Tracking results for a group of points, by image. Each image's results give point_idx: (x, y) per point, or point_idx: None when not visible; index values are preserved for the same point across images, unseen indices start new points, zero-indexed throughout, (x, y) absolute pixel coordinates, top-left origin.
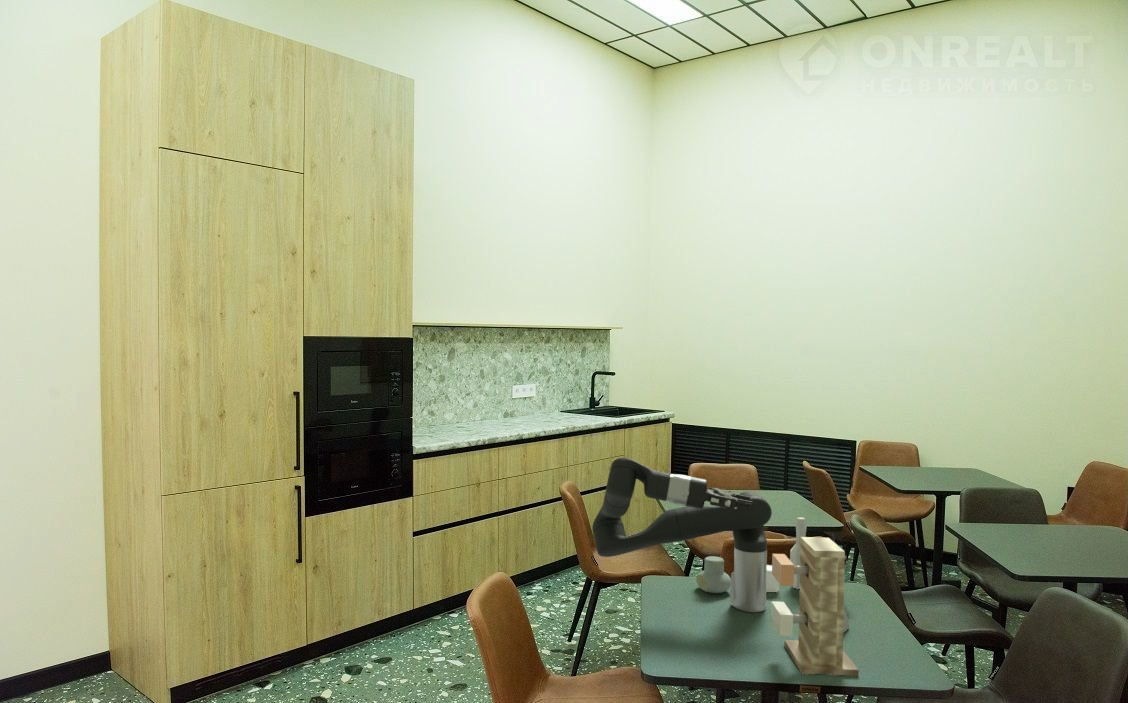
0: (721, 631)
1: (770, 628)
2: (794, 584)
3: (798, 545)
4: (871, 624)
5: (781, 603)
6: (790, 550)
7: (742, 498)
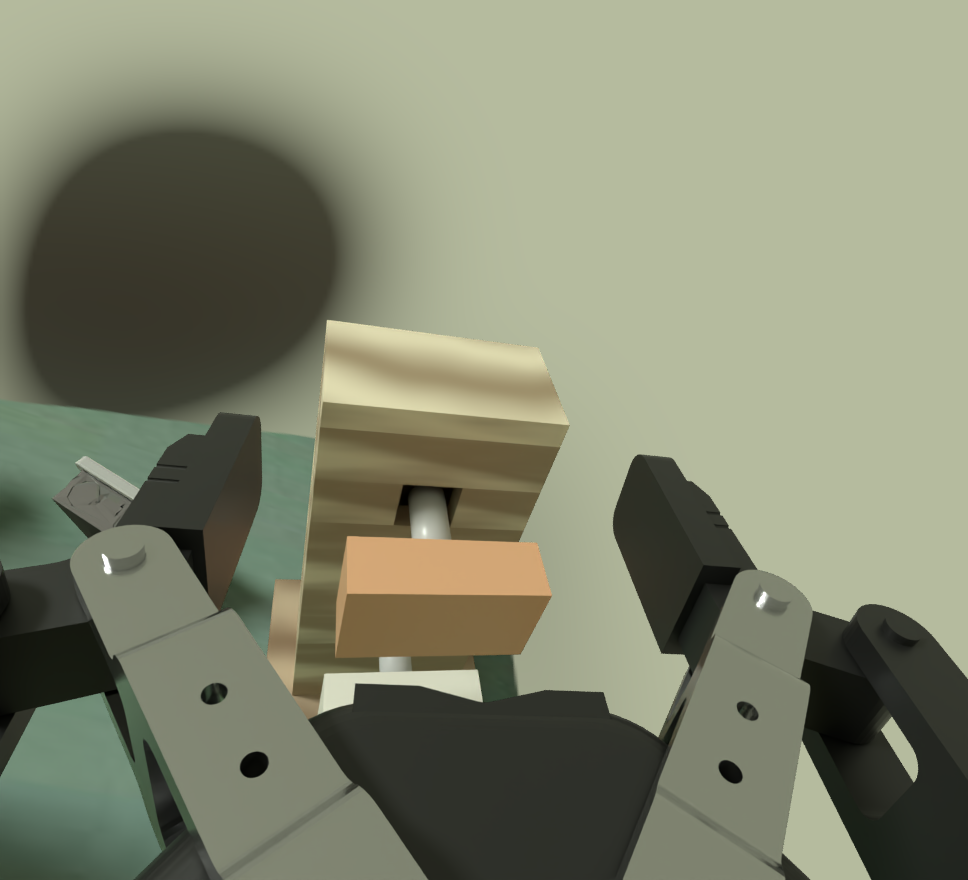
0: None
1: (66, 774)
2: None
3: None
4: (106, 456)
5: (346, 686)
6: None
7: (236, 493)
